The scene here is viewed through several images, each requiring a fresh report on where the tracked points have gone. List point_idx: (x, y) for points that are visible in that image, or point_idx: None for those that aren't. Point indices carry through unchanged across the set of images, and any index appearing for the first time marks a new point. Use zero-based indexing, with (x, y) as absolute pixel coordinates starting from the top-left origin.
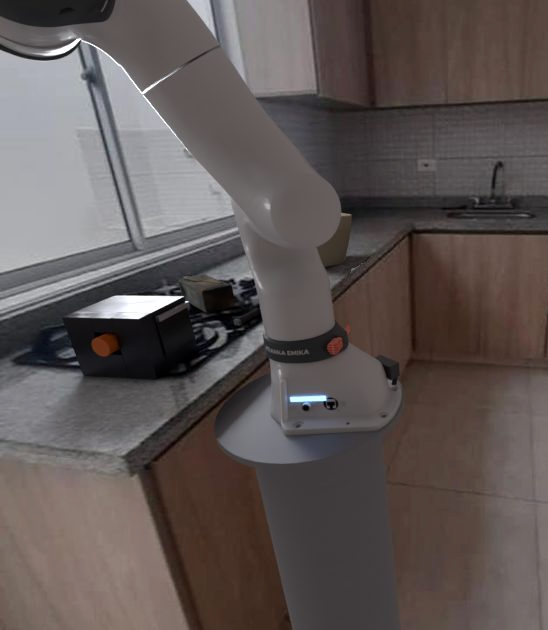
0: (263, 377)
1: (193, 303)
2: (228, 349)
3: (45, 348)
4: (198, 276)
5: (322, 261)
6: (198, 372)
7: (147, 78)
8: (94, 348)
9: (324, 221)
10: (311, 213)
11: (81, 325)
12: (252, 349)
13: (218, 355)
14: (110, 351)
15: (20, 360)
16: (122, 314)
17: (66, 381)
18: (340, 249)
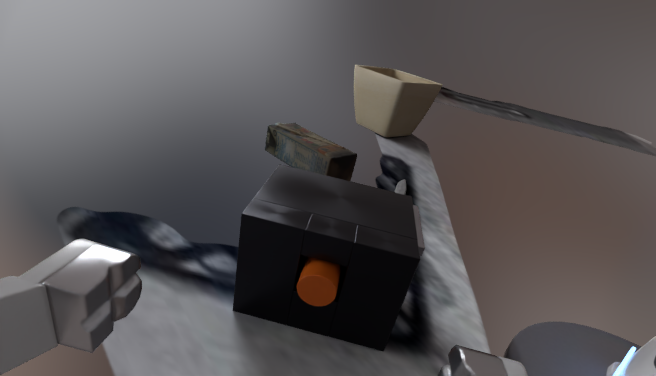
0: (514, 353)
1: (294, 164)
2: (429, 281)
3: (116, 213)
4: (291, 125)
5: (397, 130)
6: (439, 341)
7: None
8: (300, 289)
9: None
10: None
11: (279, 237)
12: (467, 289)
13: (428, 294)
14: (332, 300)
15: (85, 237)
16: (365, 232)
17: (209, 323)
18: (416, 120)
